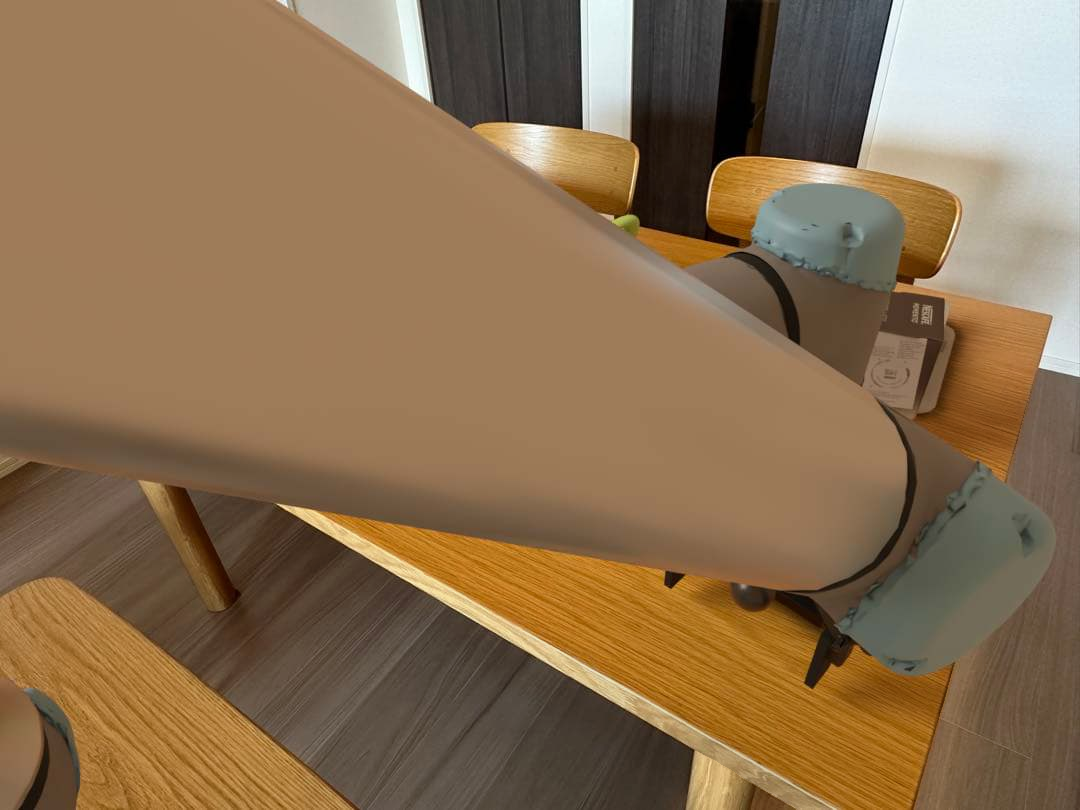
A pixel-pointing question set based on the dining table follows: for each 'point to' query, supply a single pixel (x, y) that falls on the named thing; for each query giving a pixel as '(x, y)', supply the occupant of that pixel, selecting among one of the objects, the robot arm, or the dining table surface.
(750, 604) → the lever
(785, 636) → the dining table surface
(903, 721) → the dining table surface
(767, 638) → the dining table surface
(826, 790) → the dining table surface
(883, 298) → the robot arm
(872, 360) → the coffee box
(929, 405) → the white open box
